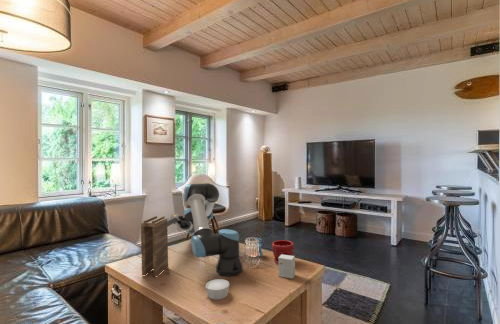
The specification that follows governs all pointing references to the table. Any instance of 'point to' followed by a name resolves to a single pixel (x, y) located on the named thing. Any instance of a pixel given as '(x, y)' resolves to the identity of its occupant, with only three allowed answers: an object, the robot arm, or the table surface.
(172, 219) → the marker
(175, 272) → the table surface
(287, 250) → the plant pot
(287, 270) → the small box
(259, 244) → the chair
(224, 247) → the robot arm
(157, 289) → the table surface
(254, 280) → the table surface
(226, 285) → the ramekin
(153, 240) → the brown tall wooden block
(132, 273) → the table surface
